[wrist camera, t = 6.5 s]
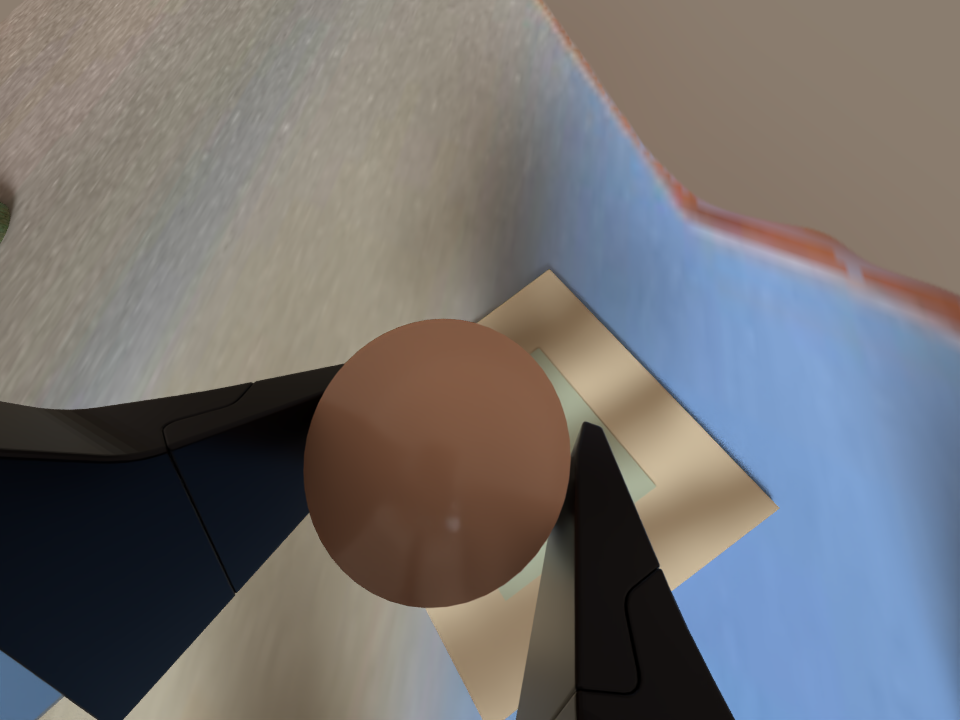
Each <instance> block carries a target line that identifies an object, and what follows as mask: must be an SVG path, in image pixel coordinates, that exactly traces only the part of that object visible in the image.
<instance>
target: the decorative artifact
mask: <svg viewBox="0 0 960 720" xmlns="http://www.w3.org/2000/svg"><path fill="white" fill-rule="evenodd" d="M9 221H10V212H9V209H8V207H7V206H6V205H5V204H3V203H1V202H0V243H1V241H2V240H3V238H4V236H5V234H6V231H7V229H8V226H9Z"/></svg>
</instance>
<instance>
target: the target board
mask: <svg viewBox="0 0 960 720" xmlns="http://www.w3.org/2000/svg"><path fill="white" fill-rule="evenodd" d="M477 324H480V325H483V326H486V327H489V328H491V329H493V330H495V331H497V332H499V333H501V334H503V335H505V336H507V337H508V338H510V339H511V340H513V341H514V342H516V343H517V344H518V345H520V346H521V347H522V348H523V349H524V350H525V351H526V352H527V353H529V354H530V355H531V356H532V357H533V359H534V360H535V361H536V362H537V363H538V364H539V366H540V367H541V368H542V369H543V371H544V372H545V374H546V375H547V377H548V378H549V380H550V381H551V383H552V385H553V387H554V389H555V391H556V393H557V395H558V397H559V399H560V402H561V405H562V408H563V411H564V414H565V417H566V421H567V426H568V432H569V437H570V454H571V452H572V449H573V447H574V444H575V441H576V438H577V436H578V433H579V430H580V428H581V425H582V423H583V422H584V421H587V422H590V423H592V424H595V425H598V426H600V427H602V429H603V431H604V433H605V436H606V438H607V440H608V443H609V445H610V447H611V450H612V452H613V455H614V457H615V459H616V462H617V464H618V466H619V469H620V471H621V474H622V476H623V478H624V481H625V483H626V485H627V488H628V490H629V493H630V495H631V497H632V500H633V502H634V504H635V507H636V509H637V512H638V514H639V516H640V519H641V521H642V523H643V526H644V528H645V531H646V533H647V535H648V538H649V540H650V542H651V545H652V547H653V550H654V552H655V554H656V557H657V559H658V561H659V564H660V567H659V568H660V569H662V571H663V573H664V575H665V578H666V580H667V582H668V585H669V587H670V590H671V591H672V590H674V589H675V588H676V587H678V586H679V585H680V584H681V583H683V582H684V581H685V580H687V579H688V578H689V577H691V576H692V575H693V574H695V573H696V572H697V571H698V570H700V569H701V568H702V567H704V566H705V565H706V564H708V563H709V562H710V561H711V560H713V559H714V558H715V557H717V556H718V555H719V554H721V553H722V552H723V551H725V550H726V549H727V548H728V547H730V546H731V545H732V544H734V543H735V542H736V541H738V540H739V539H740V538H741V537H743V536H744V535H745V534H747V533H748V532H749V531H751V530H752V529H753V528H754V527H756V526H757V525H758V524H760V523H761V522H762V521H764V520H765V519H766V518H768V517H769V516H770V515H771V514H773V513H774V512H775V511H777V510H778V509H779V507H778V506H777V505H776V504H775V503H774V502H773V501H772V500H771V499H770V498H769V497H768V496H767V495H766V494H765V493H764V492H763V491H762V490H761V488H760V487H759V486H758V485H757V484H756V483H755V482H754V481H753V480H752V479H751V478H750V477H749V476H748V475H747V474H746V473H745V472H744V471H743V470H742V469H741V468H740V467H739V466H738V465H737V464H736V463H735V461H734V460H733V459H732V458H731V457H730V456H729V455H728V454H727V453H726V452H725V451H724V450H723V449H722V448H721V447H720V446H719V445H718V444H717V443H716V442H715V441H714V440H713V439H712V438H711V437H710V435H709V434H708V433H707V432H706V431H705V430H704V429H703V428H702V427H701V426H700V425H699V424H698V423H697V422H696V421H695V420H694V419H693V418H692V417H691V416H690V415H689V414H688V413H687V412H686V411H685V410H684V408H683V407H682V406H681V405H680V404H679V403H678V402H677V401H676V400H675V399H674V398H673V397H672V396H671V395H670V394H669V393H668V392H667V391H666V390H665V389H664V388H663V387H662V386H661V385H660V384H659V383H658V381H657V380H656V379H655V378H654V377H653V376H652V375H651V374H650V373H649V372H648V371H647V370H646V369H645V368H644V367H643V366H642V365H641V364H640V363H639V362H638V361H637V360H636V359H635V358H634V357H633V355H632V354H631V353H630V352H629V351H628V350H627V349H626V348H625V347H624V346H623V345H622V344H621V343H620V342H619V341H618V340H617V339H616V338H615V337H614V336H613V335H612V334H611V333H610V332H609V331H608V330H607V328H606V327H605V326H604V325H603V324H602V323H601V322H600V321H599V320H598V319H597V318H596V317H595V316H594V315H593V314H592V313H591V312H590V311H589V310H588V309H587V308H586V307H585V306H584V305H583V304H582V303H581V301H580V300H579V299H578V298H577V297H576V296H575V295H574V294H573V293H572V292H571V291H570V290H569V289H568V288H567V287H566V286H565V285H564V284H563V283H562V282H561V281H560V280H559V279H558V278H557V277H556V275H555V274H554V273H553V272H552V271H551V270H550V269H549V270H547V271H546V272H545V273H543V274H542V275H541V276H539V277H538V278H537V279H535V280H534V281H533V282H531V283H530V284H529V285H527V286H526V287H525V288H523V289H522V290H521V291H519V292H518V293H517V294H515V295H514V296H513V297H511V298H510V299H508V300H507V301H506V302H504V303H503V304H502V305H500V306H499V307H498V308H496V309H495V310H494V311H492V312H491V313H490V314H488V315H487V316H486V317H484V318H483V319H482V320H480V321H479V322H478V323H477ZM547 540H548V539H547ZM547 540H546V542H545V543H544V545H543V546H542V547H541V549H540V550H539V552H538V553H537V555H536V556H535V557H534V558H533V559H532V560H531V561H530V562H529V563H528V565H527V566H526V567H525V568H524V569H523V570H522V571H521V572H520V573H518V574H517V575H516V576H515V577H513V578H512V579H511V580H510V581H508V582H507V583H506V584H505V585H503V586H501V587H500V588H498V589H496V590H494V591H493V592H491V593H489V594H487V595H486V596H483V597H480V598H478V599H475V600H473V601H470V602H468V603H463V604H459V605H454V606H450V607H438V608H426V610H427V612H428V614H429V616H430V618H431V620H432V622H433V624H434V626H435V628H436V630H437V632H438V634H439V636H440V638H441V640H442V642H443V643H444V645H445V647H446V649H447V651H448V653H449V655H450V657H451V659H452V661H453V663H454V665H455V667H456V669H457V671H458V673H459V675H460V677H461V678H462V680H463V682H464V684H465V686H466V688H467V690H468V692H469V694H470V696H471V698H472V700H473V702H474V704H475V706H476V708H477V710H478V712H479V713H480V715H481V717H482V719H483V720H504V719H505V718H507V717H508V716H509V715H511V714H512V713H513V712H515V711H516V710H517V709H518V705H519V699H520V693H521V688H522V682H523V676H524V671H525V665H526V659H527V654H528V648H529V642H530V636H531V631H532V625H533V619H534V614H535V608H536V602H537V597H538V591H539V585H540V579H541V574H542V568H543V562H544V557H545V551H546V545H547Z"/></svg>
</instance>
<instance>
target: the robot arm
mask: <svg viewBox="0 0 960 720" xmlns="http://www.w3.org/2000/svg"><path fill="white" fill-rule="evenodd" d="M343 365H344V364H340V365H335V366H330V367H325V368H320V369H315V370H310V371H305V372H300V373H295V374H290V375H285V376H280V377H275V378H270V379H265V380H260V381H256V382H254V383H252V382H250V383H245V384H240V385H235V386H230V387H224V388H219V389H214V390H208V391H203V392H196V393H190V394H184V395H178V396H171V397H165V398H158V399H151V400H144V401H138V402H131V403H124V404H118V405H111V406H104V407H98V408H89V409H75V410H60V409H45V408H36V407H30V406H24V405H18V404H13V403H7V402H1V401H0V720H38V719H39V718H41V717H42V716H43V715H44V714H45V713H46V712H47V711H48V710H50V709H51V708H52V707H53V706H54V705H55V704H56V703H57V702H59V701H60V700H61V699H62V698H63V697H64V696H65V697H66V698H68V699H69V700H70V701H72V702H73V703H75V704H76V705H77V706H79V707H80V708H82V709H83V710H84V711H86V712H87V713H89V714H90V715H91V716H93V717H94V718H96V719H97V720H123V719H124V718H125V717H126V716H127V715H128V714H129V713H130V712H131V711H132V709H133V708H134V707H135V706H136V705H137V704H138V703H139V702H140V700H141V699H142V698H143V697H144V696H145V695H146V694H147V693H148V692H149V690H150V689H151V688H152V687H153V686H154V685H155V684H156V683H157V682H158V680H159V679H160V678H161V677H162V676H163V675H164V674H165V673H166V672H167V670H168V669H169V668H170V667H171V666H172V665H173V664H174V663H175V662H176V660H177V659H178V658H179V657H180V656H181V655H182V654H183V653H184V652H185V650H186V649H187V648H188V647H189V646H190V645H191V644H192V643H193V642H194V640H195V639H196V638H197V637H198V636H199V635H200V634H201V633H202V632H203V630H204V629H205V628H206V627H207V626H208V625H209V624H210V623H211V622H212V620H213V619H214V618H215V617H216V616H217V615H218V614H219V613H220V612H221V610H222V609H223V608H224V607H225V606H226V605H227V604H228V603H229V602H230V600H231V599H232V598H233V597H234V596H235V593H237V592H238V591H239V590H240V589H241V588H242V587H243V586H244V584H245V583H246V582H247V581H248V580H249V579H250V578H251V577H252V576H253V574H254V573H255V572H256V571H257V570H258V569H259V568H260V567H261V566H262V564H263V563H264V562H265V561H266V560H267V559H268V558H269V557H270V556H271V554H272V553H273V552H274V551H275V550H276V549H277V548H278V547H279V546H280V544H281V543H282V542H283V541H284V540H285V539H286V538H287V537H288V536H289V534H290V533H291V532H292V531H293V530H294V529H295V528H296V527H297V526H298V524H299V523H300V522H301V521H302V520H303V519H304V518H305V517H306V515H307V514H308V513H309V509H308V506H307V500H306V495H305V489H304V473H303V469H304V452H305V446H306V440H307V435H308V431H309V428H310V424H311V421H312V418H313V415H314V413H315V410H316V408H317V405H318V403H319V401H320V399H321V397H322V396H323V394H324V392H325V390H326V388H327V387H328V385H329V384H330V382H331V381H332V379H333V378H334V376H335V375H336V374H337V373H338V371H339V370H340V369H341V368H342V367H343ZM659 567H660V564H659V561H658V559H657V557H656V554H655V552H654V550H653V547H652V545H651V542H650V540H649V538H648V535H647V533H646V531H645V528H644V526H643V523H642V521H641V519H640V516H639V514H638V512H637V509H636V507H635V504H634V502H633V500H632V497H631V495H630V493H629V490H628V488H627V485H626V483H625V481H624V478H623V476H622V474H621V471H620V469H619V466H618V464H617V462H616V459H615V457H614V455H613V452H612V450H611V447H610V445H609V443H608V440H607V438H606V436H605V433H604V431H603V429H602V427H600V426H598V425H595V424H592V423H590V422H587V421H584V422H583V423H582V425H581V428H580V430H579V433H578V436H577V438H576V441H575V444H574V447H573V449H572V452H571V461H570V474H569V482H568V486H567V491H566V496H565V500H564V503H563V506H562V509H561V511H560V514H559V517H558V520H557V522H556V524H555V526H554V527H553V529H552V531H551V533H550V535H549V537H548V540H547V545H546V551H545V557H544V562H543V568H542V574H541V579H540V585H539V591H538V597H537V602H536V608H535V614H534V619H533V625H532V631H531V636H530V642H529V648H528V654H527V659H526V665H525V671H524V676H523V682H522V688H521V693H520V699H519V705H518V710H517V716H516V720H735V719H734V717H733V715H732V713H731V711H730V709H729V707H728V706H727V704H726V702H725V700H724V698H723V696H722V694H721V692H720V690H719V688H718V687H717V685H716V683H715V681H714V679H713V677H712V675H711V673H710V671H709V669H708V667H707V665H706V663H705V661H704V659H703V657H702V655H701V653H700V651H699V649H698V647H697V645H696V643H695V641H694V639H693V637H692V636H691V634H690V632H689V630H688V627H687V625H686V623H685V621H684V619H683V616H682V614H681V612H680V610H679V607H678V605H677V603H676V601H675V599H674V596H673V594H672V592H671V590H670V587H669V585H668V582H667V580H666V578H665V575H664V573H663V571H662V569H660V568H659Z"/></svg>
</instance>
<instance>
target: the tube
mask: <svg viewBox="0 0 960 720" xmlns="http://www.w3.org/2000/svg"><path fill="white" fill-rule="evenodd" d="M570 461H571V454H570V437H569V432H568V426H567V421H566V417H565V414H564V411H563V408H562V405H561V402H560V399H559V397H558V395H557V393H556V391H555V389H554V387H553V385H552V383H551V381H550V380H549V378H548V377H547V375H546V374H545V372H544V371H543V369H542V368H541V367H540V366H539V364H538V363H537V362H536V361H535V360H534V359H533V357H532V356H531V355H530V354H529V353H527V352H526V351H525V350H524V349H523V348H522V347H521V346H520V345H518V344H517V343H516V342H514V341H513V340H511V339H510V338H508V337H507V336H505V335H503V334H501V333H499V332H497V331H495V330H493V329H491V328H489V327H486V326H483V325H480V324H477V323H473V322H468V321H463V320H455V319H432V320H424V321H419V322H414V323H410V324H407V325H404V326H401V327H398V328H395V329H393V330H391V331H389V332H387V333H384V334H383V335H381V336H379V337H378V338H376V339H374V340H373V341H371V342H369V343H368V344H367V345H365V346H364V347H363V348H362V349H360V350H359V351H358V352H357V353H355V354H354V355H353V356H352V357H351V358H350V359H349V360H348V361H347V362H346V363H345V364H344V365H343V367H342V368H341V369H340V370H339V371H338V373H337V374H336V375H335V376H334V378H333V379H332V381H331V382H330V384H329V385H328V387H327V388H326V390H325V392H324V394H323V396H322V397H321V399H320V401H319V403H318V405H317V408H316V410H315V413H314V415H313V418H312V421H311V424H310V428H309V431H308V435H307V440H306V446H305V452H304V469H303V473H304V489H305V495H306V500H307V506H308V509H309V513H310V516H311V519H312V522H313V525H314V527H315V529H316V532H317V534H318V536H319V538H320V540H321V542H322V544H323V545H324V547H325V548H326V550H327V552H328V553H329V555H330V556H331V558H332V559H333V560H334V561H335V562H336V564H337V565H338V566H339V567H340V568H341V569H342V571H343V572H345V573H346V574H347V575H348V576H349V577H350V578H351V579H352V580H354V581H355V582H356V583H357V584H359V585H360V586H362V587H363V588H365V589H366V590H368V591H369V592H371V593H373V594H375V595H377V596H379V597H382V598H384V599H386V600H388V601H391V602H395V603H399V604H402V605H406V606H412V607H422V608H438V607H450V606H454V605H459V604H463V603H468V602H470V601H473V600H475V599H478V598H480V597H483V596H486V595H487V594H489V593H491V592H493V591H494V590H496V589H498V588H500V587H501V586H503V585H505V584H506V583H507V582H508V581H510V580H511V579H512V578H513V577H515V576H516V575H517V574H518V573H520V572H521V571H522V570H523V569H524V568H525V567H526V566H527V565H528V563H529V562H530V561H531V560H532V559H533V558H534V557H535V556H536V555H537V553H538V552H539V550H540V549H541V547H542V546H543V545H544V543H545V542H546V540H547V539H548V537H549V535H550V533H551V531H552V529H553V527H554V526H555V524H556V522H557V520H558V517H559V514H560V511H561V509H562V506H563V503H564V500H565V496H566V491H567V486H568V482H569V474H570Z"/></svg>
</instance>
